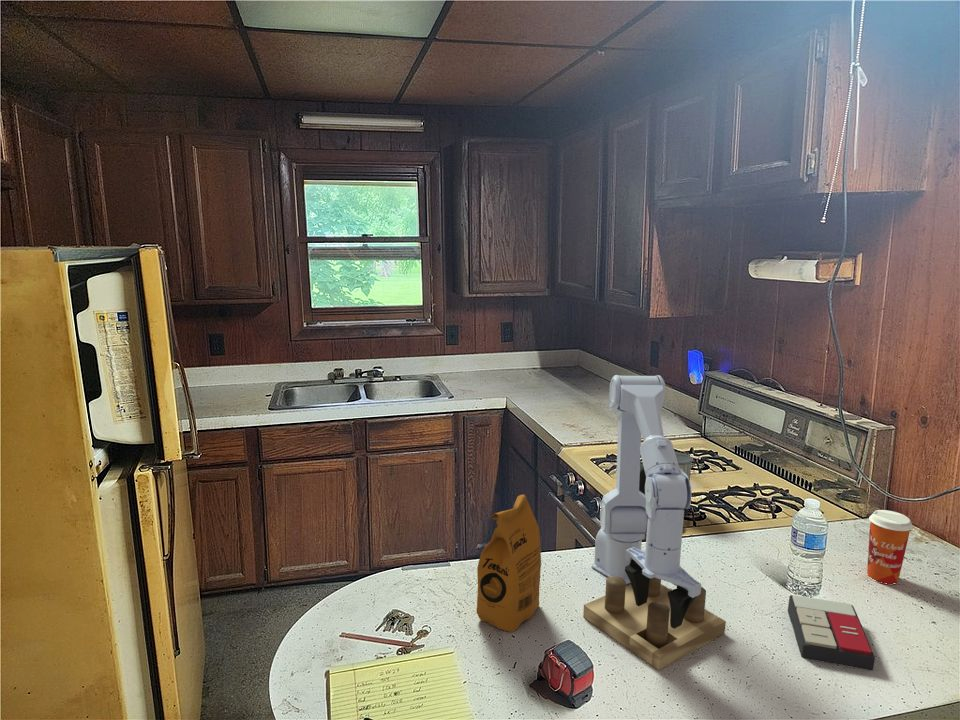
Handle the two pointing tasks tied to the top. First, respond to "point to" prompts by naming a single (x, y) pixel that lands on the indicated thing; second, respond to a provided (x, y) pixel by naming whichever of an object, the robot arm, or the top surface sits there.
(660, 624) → the loose leg
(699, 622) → the wooden peg board
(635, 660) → the top surface
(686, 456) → the milk frother
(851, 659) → the calculator
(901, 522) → the paper cup
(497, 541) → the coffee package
